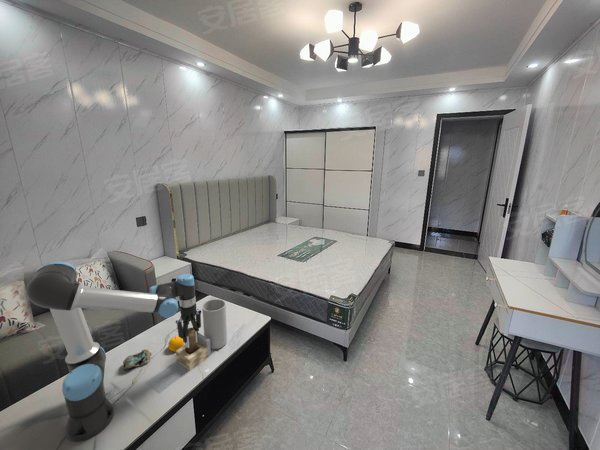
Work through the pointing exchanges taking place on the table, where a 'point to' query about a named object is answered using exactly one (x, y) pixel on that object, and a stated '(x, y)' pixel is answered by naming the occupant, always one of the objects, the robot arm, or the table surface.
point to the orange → (175, 343)
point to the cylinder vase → (215, 322)
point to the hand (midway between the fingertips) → (191, 343)
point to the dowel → (191, 341)
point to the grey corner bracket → (174, 370)
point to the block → (192, 356)
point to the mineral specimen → (137, 359)
